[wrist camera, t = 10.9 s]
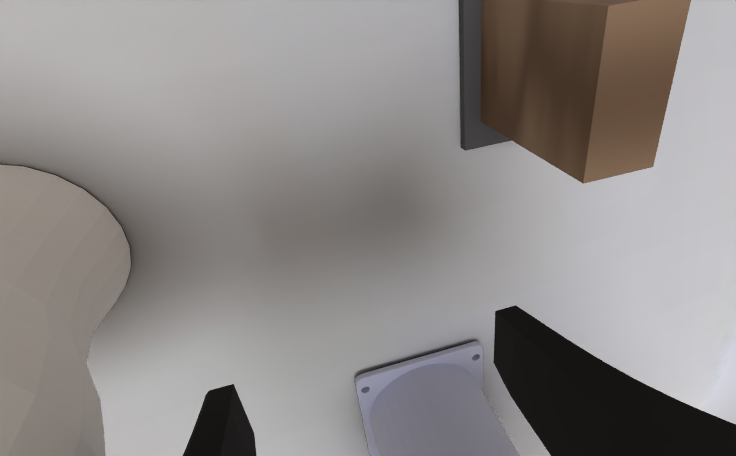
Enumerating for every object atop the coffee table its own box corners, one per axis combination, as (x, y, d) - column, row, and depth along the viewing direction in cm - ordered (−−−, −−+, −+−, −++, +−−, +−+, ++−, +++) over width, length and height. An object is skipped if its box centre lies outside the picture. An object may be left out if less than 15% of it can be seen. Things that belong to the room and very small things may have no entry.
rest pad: (539, 130, 21) (544, 133, 21) (461, 147, 21) (464, 150, 20) (553, -40, 18) (559, -40, 17) (458, -25, 17) (463, -26, 17)
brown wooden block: (531, 110, 20) (652, 166, 14) (480, 121, 20) (582, 183, 14) (540, -14, 18) (692, -10, 12) (481, -5, 17) (608, 5, 11)
